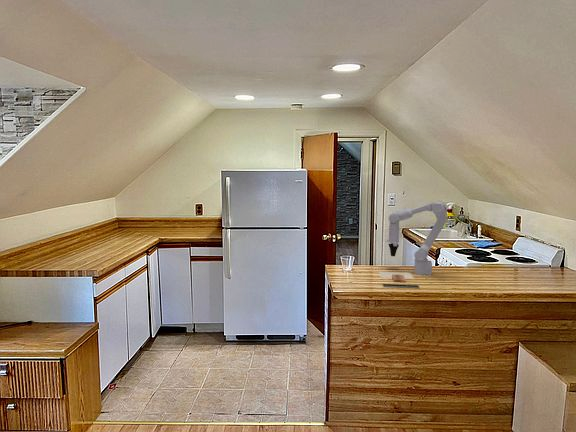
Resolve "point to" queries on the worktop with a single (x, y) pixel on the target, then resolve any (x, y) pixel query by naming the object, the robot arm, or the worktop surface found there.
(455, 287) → the worktop surface
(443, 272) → the worktop surface
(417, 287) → the mat
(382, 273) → the board
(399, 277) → the block
